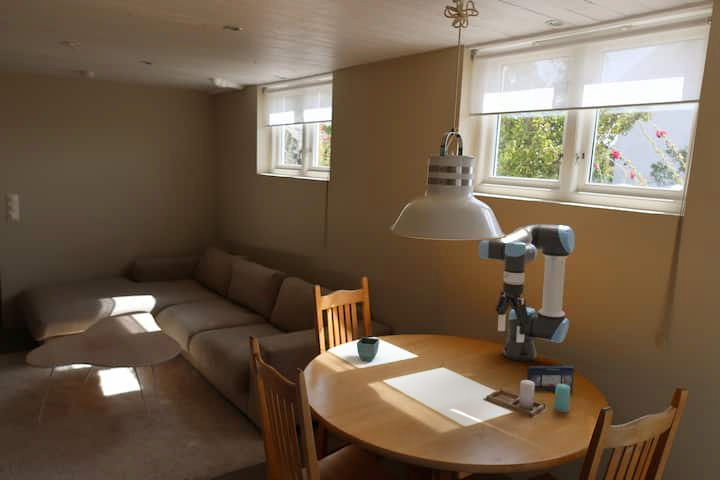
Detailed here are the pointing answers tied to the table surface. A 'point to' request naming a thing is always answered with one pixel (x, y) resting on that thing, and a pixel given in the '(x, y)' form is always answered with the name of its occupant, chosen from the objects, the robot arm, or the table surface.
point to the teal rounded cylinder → (562, 398)
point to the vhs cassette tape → (550, 376)
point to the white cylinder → (526, 394)
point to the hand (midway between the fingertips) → (510, 336)
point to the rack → (514, 403)
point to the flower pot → (367, 348)
